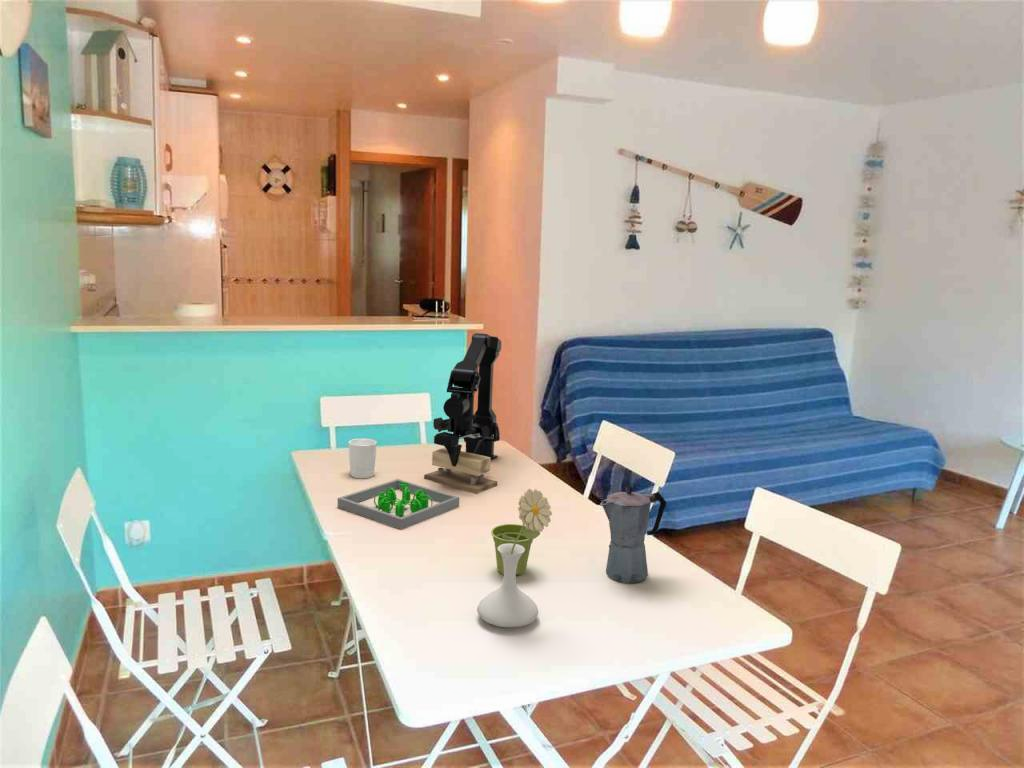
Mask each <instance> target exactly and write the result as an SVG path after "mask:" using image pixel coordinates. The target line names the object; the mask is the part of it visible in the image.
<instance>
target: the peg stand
mask: <svg viewBox="0 0 1024 768" xmlns="http://www.w3.org/2000/svg"><path fill="white" fill-rule="evenodd" d="M423 478H424V479H425V480H427V481H431V482H434V483H436V484H437V483H438V484H441V485H445V486H448V487H450V488H455V489H458V490H461V491H465V492H469V493H471V494H479V493H482V492H485V491H486V490H489V489H492V488H495V487H497V486H498V481H497V480H493V479H489V478H486V477H485V473H484V474H482V475H480V476H477V475H473V474H468V473H464V472H460V471H455V470H451V469H447V468H443V467H438V468H437V470H435V471H432V472H429V473H425V474H423Z"/></svg>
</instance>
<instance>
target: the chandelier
mask: <svg viewBox="0 0 1024 768" xmlns="http://www.w3.org/2000/svg"><path fill="white" fill-rule="evenodd" d="M399 486H401V487H403V491H401V492H402V493H401V499H399V498H398V497H397V493H396V490H394V489H393V488H388V489H387V490H386V493H384V492H380V493H378V494H381V495H379V496H377V495H378V494H377V495H376V496H375V497H373V503H374V505H375V506H376V507H377V510H380V511H383V512H386V513H389V514H390V513H391V512H392V510H393V509H394V508H393V507H394V505H396V506H395V511H394V513H395V516H398V517H403V516H405V505H409V508H410V512H411V513H414V512H417V511H419V510H422V509H425V508H427V507H429V500H430V502H431V505H430V506H433V500H432V499H431V498H430V497H429V496H428V495H427V493H426V492H425V491H424V490H418V491H416V492H415V494H413V496H412V498H411V495H412V493H410V490H408V487H407V486H408V483H405V482H402V483H399ZM404 487H406V488H405V490H404ZM388 490H389V491H388ZM422 491H424V492H425V495H424V493H422ZM376 497H378V498H377V502H376ZM427 497H428V498H430V499H428V498H427Z"/></svg>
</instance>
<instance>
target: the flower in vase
mask: <svg viewBox="0 0 1024 768" xmlns="http://www.w3.org/2000/svg"><path fill="white" fill-rule="evenodd" d="M523 494H524V495H521V496H520V498H518V499H519V500H518V505H519V506H518V509H517V510H518V511H519V512H518V513H519V515H518V519H520V520H521V522H522V525H523V526H522V528H521V531H520V533H519V535H518V537H517V539H516V538H513V537H509V536H507V535H505V534H504V533H503V534H502V537H503V538H506V539H510V540H513V541H515V543H514V544H511V543H508V544H502V545H500V546H498V551H499V552H500V554H501V556H502V559H503V564H504V574H503V580H502V583H501V585H500V586H499V587H498V588H496V589H495V590H493V591H491V592H490V593H488V594H487V595H486V596H484V597H483V598H482V599H481V600H480V601H479V603H478V605H477V608H476V611H477V614H478V615H479V617H480V618H481V619H482V620H483V621H485V622H486V623H487V624H490V625H493V626H495V627H496V626H497V627H501V628H520V627H523V626H527V625H529V624H531V623H532V622H534V621H535V619H537V617H538V615H539V609H538V606H537V604H536V602H535V601H534V600H533V599H532V598H531V597H530V596H529V595H527V594H526V593H525V592H523V591H522V590H521V589H520V588H519V587H518V586H517V579H516V578H517V577H516V576H517V574H516V569H517V564H518V560H519V558H520V556H521V555H522V554H523V553H524V551H525V548H524V547H522V546H521V545H518V544H516V543H517V541H518V539H519V537H520V535H521V533H523V535H524V536H525V537H526V538H527V539H529V540H532V539H533V540H534V539H536V538H537V537H539V536H540V535H541V532H543V530H544V529H545V527H549V523H551V516H553V515H552V514H553V513H552V511H551V505H550V503H549V502H548V498H547V497H545V496H544V494H543V492H541V490H538V489H536V488H535V489H533V490H532V489H531V488H527V490H526V491H524V493H523ZM524 526H525V527H526V528H525V529H524V530H523V528H524Z"/></svg>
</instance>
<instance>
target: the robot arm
mask: <svg viewBox="0 0 1024 768" xmlns="http://www.w3.org/2000/svg"><path fill="white" fill-rule="evenodd" d="M501 350H502V340H501V339H499V337H498V336H493V335H492V336H491V335H490V334H488V333H479V332H478V333H477V332H475V333H473V334H472V335H471V342H470V344H469V347H468V349H467V351H466V353H465V356H464V358H463V359H462V360H461V361H459V362H457V363H456V364H455V366H454V367H453V369H451V371H450V374H449V379H448V382H447V387H446V393H450V397H449V398H447V399H446V400H445V402H444V403H443V412H444V414H445V415H446V416H447V417H448V418H446V419H444V418H442V416H441V417H437V418H433V422H432V423H433V426H432V427H433V429H434V430H437V433H436V434H435V435H434V436H433V444H434V445H438V446H442V447H443V448H444V447H445V448H446V449H447V452H448V454H449V457H450V461H451V464H452V466H454V467H455V466H456V464H457V462H458V458H459V454H460V451H462V447H463V446H462V445H463V444H460V443H459V442H460V440H461V439H463V440H464V442H465V452H468V453H473V454H477V455H482V456H486V457H491V460H493V459H496V458H498V455H496V454H494V451H495V443H496V442H499V441H500V438H501V437H500V436H501V433H500V427H499V425H498V424H499V423H497V415H496V413H495V412H494V410H493V387H494V386H493V385H494V383H493V382H494V364H495V362H496V361H497V359H498V358H499V356H500V352H501ZM476 393H477V409H476V411H475V413H474V408H475V407H474V405H475V394H476Z"/></svg>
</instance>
